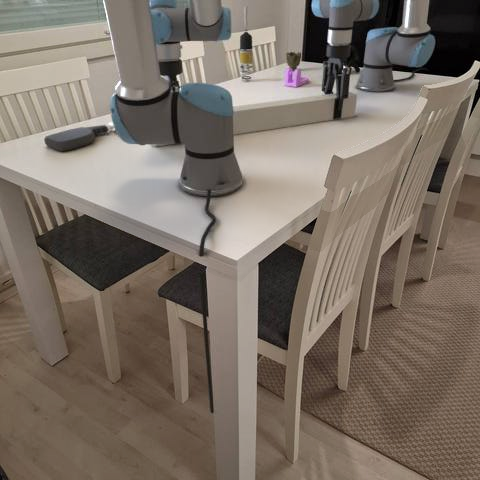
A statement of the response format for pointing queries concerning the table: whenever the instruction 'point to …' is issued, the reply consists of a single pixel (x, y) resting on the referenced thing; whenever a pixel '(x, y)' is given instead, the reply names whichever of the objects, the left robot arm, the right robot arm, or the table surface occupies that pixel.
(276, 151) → the table surface
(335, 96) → the bar
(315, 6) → the right robot arm
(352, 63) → the squiggle
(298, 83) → the bracket
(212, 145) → the left robot arm
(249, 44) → the filter
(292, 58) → the cup
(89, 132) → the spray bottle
